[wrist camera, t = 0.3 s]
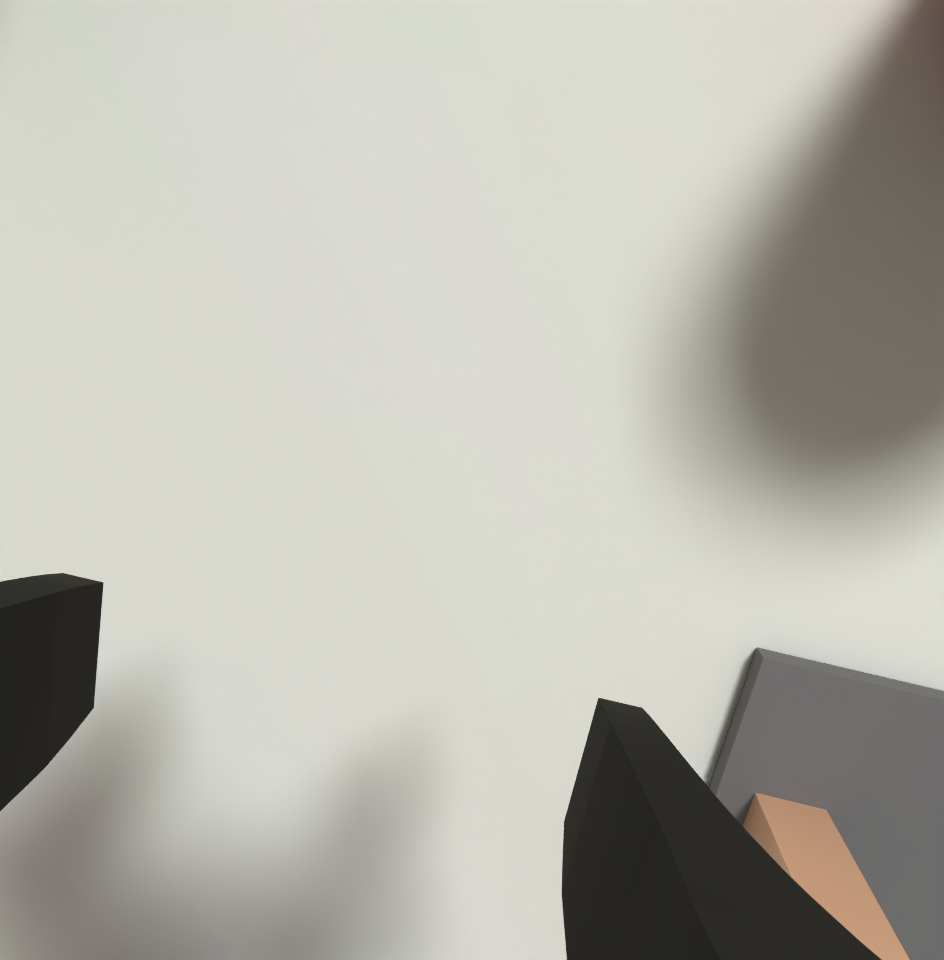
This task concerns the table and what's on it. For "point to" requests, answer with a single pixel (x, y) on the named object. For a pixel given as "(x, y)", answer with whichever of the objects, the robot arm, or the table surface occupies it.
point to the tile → (822, 868)
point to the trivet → (851, 776)
